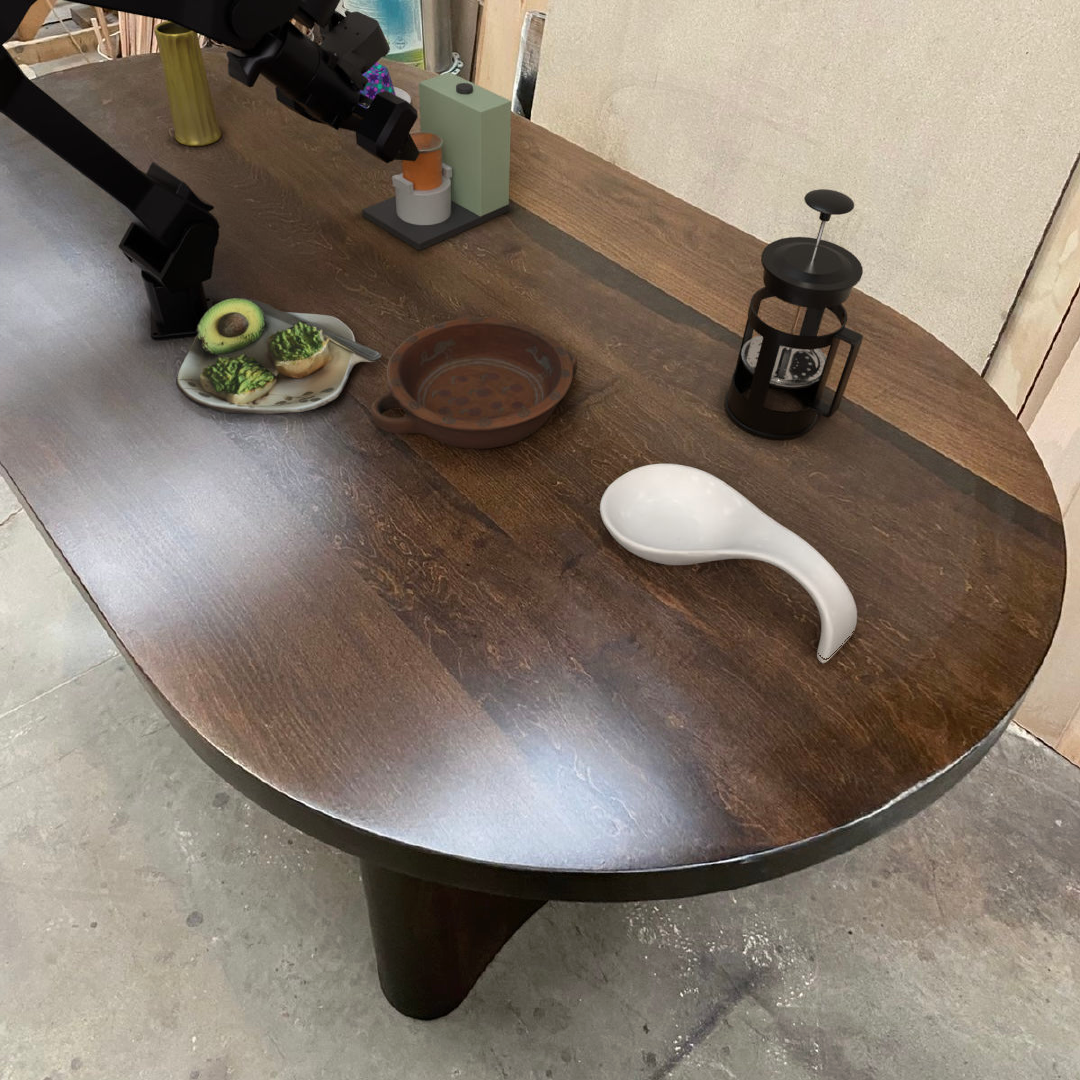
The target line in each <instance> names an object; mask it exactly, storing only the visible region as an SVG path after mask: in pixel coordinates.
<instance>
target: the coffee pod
mask: <svg viewBox="0 0 1080 1080" xmlns="http://www.w3.org/2000/svg"><path fill="white" fill-rule="evenodd" d="M409 133H410V135H411V137H412V139H413V141H414V143H415V145H416V147H417V149H418V150H419V156H418V158H417V159H416V161H405V160H401V167H402V168H401V169H402V171H401V173H403V178H405V179H406V180H408V181H410V182H412V183H413V189H414V190H421V191H425V190H432V189H435V188H437V187H439V186H440V185H441V184H442V146H443V139H442V138H441V137H440V136H438V135H436V134H434V133H430V132H421V131H412V132H411V131H410V132H409Z"/></svg>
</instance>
